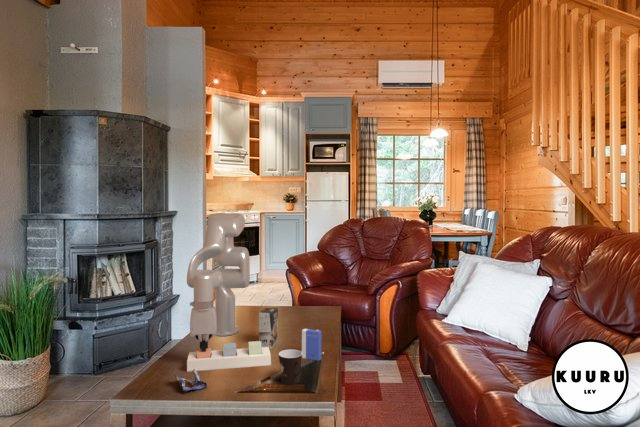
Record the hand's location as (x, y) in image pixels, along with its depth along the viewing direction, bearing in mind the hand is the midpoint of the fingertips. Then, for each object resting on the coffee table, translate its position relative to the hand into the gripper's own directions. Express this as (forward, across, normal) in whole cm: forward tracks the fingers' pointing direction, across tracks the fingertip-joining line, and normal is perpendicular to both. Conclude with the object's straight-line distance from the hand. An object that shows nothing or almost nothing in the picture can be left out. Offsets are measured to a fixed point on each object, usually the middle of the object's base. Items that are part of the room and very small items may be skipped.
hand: (203, 350), depth 171 cm
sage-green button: (+3, +20, 0) cm, 20 cm away
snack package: (+7, -4, -19) cm, 20 cm away
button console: (+6, +10, 0) cm, 12 cm away
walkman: (+6, +43, -1) cm, 44 cm away
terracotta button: (+5, 0, 0) cm, 5 cm away
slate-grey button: (+3, +10, 0) cm, 11 cm away
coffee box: (+6, +27, +19) cm, 34 cm away
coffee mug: (+6, +32, -22) cm, 39 cm away
